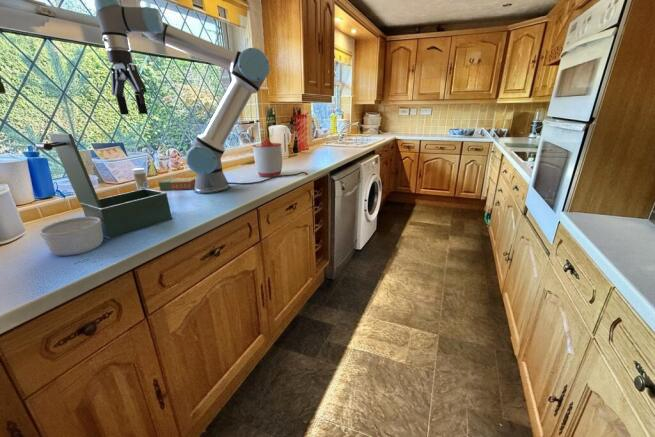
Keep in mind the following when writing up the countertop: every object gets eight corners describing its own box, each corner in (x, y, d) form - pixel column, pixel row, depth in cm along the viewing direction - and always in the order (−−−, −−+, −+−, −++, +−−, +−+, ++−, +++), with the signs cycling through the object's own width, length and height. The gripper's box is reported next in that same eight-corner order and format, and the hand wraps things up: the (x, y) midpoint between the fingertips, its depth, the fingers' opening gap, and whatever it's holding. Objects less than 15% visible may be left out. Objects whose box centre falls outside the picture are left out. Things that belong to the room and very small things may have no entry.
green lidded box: (151, 213, 112) (145, 188, 109) (172, 218, 105) (166, 192, 102) (90, 231, 96) (80, 203, 93) (110, 239, 90) (100, 209, 86)
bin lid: (52, 133, 85) (26, 136, 81) (71, 133, 78) (44, 137, 74) (81, 201, 93) (60, 207, 89) (101, 207, 86) (79, 214, 82)
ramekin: (113, 245, 85) (106, 222, 83) (52, 263, 76) (42, 238, 73) (100, 234, 93) (94, 213, 91) (44, 249, 84) (35, 226, 82)
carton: (192, 189, 144) (190, 180, 143) (159, 190, 145) (157, 181, 143) (199, 185, 152) (198, 176, 151) (168, 186, 153) (166, 177, 151)
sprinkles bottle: (147, 201, 127) (139, 169, 123) (137, 201, 128) (129, 169, 123) (154, 198, 132) (146, 167, 127) (144, 198, 132) (136, 167, 127)
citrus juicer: (268, 171, 181) (264, 137, 174) (289, 174, 171) (286, 137, 164) (247, 176, 169) (243, 139, 162) (269, 179, 159) (266, 140, 152)
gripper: (90, 53, 110) (107, 115, 117) (125, 44, 97) (141, 113, 105) (113, 56, 116) (127, 114, 123) (148, 47, 103) (162, 113, 111)
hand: (133, 114), depth 114 cm, fingers open, 13 cm apart
